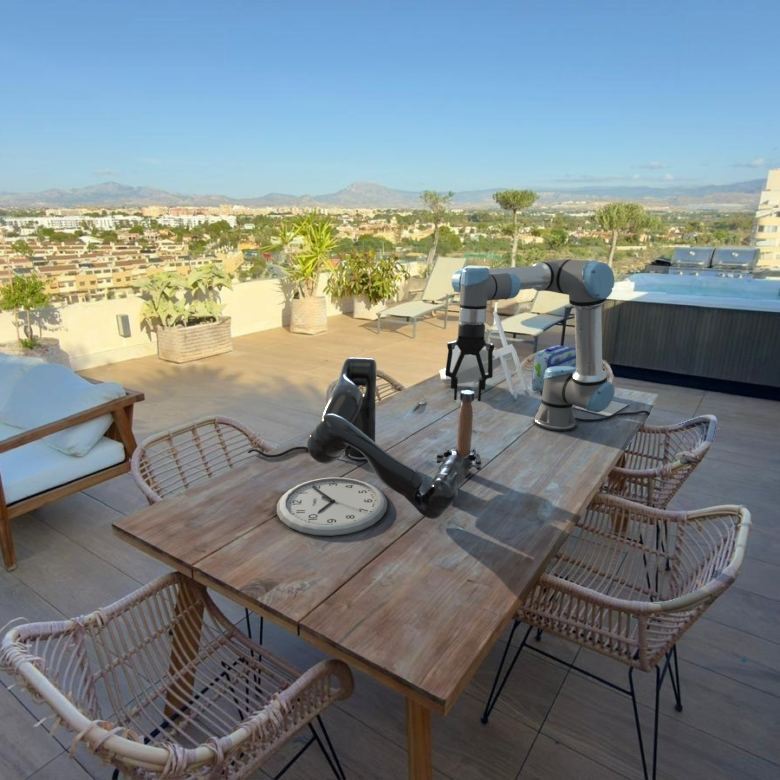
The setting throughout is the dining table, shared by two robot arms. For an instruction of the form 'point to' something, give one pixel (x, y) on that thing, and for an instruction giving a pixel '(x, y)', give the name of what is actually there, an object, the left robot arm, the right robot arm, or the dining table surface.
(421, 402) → the fork
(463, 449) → the ringed wooden cylinder
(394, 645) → the dining table surface
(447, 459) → the left robot arm
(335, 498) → the wall clock
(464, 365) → the white plastic object
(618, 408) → the invitation card
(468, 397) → the cap
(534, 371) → the lunch box
